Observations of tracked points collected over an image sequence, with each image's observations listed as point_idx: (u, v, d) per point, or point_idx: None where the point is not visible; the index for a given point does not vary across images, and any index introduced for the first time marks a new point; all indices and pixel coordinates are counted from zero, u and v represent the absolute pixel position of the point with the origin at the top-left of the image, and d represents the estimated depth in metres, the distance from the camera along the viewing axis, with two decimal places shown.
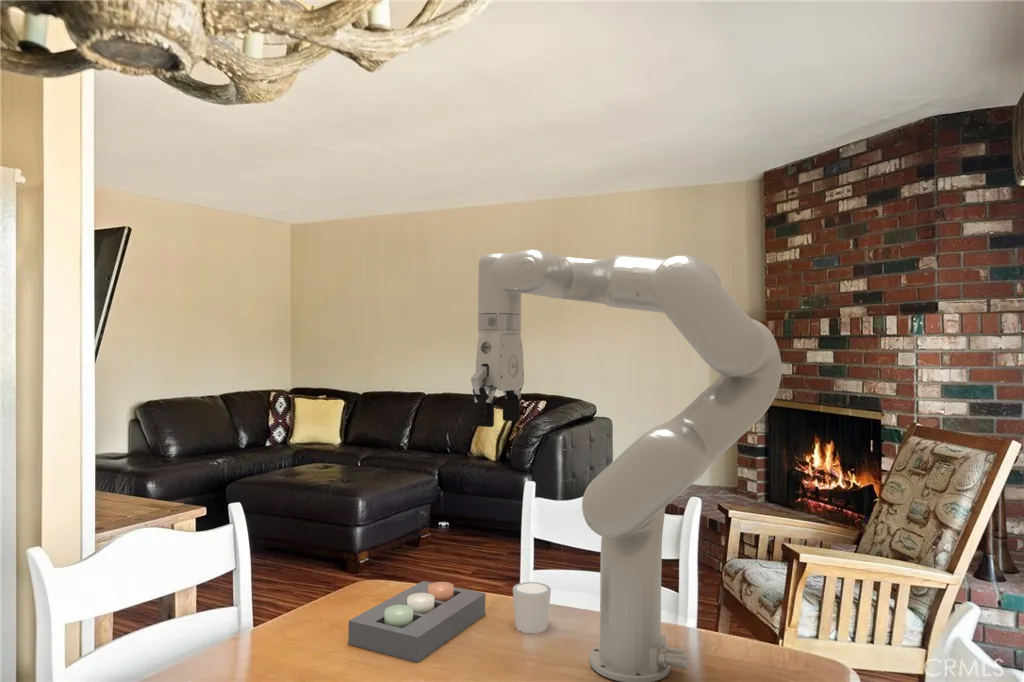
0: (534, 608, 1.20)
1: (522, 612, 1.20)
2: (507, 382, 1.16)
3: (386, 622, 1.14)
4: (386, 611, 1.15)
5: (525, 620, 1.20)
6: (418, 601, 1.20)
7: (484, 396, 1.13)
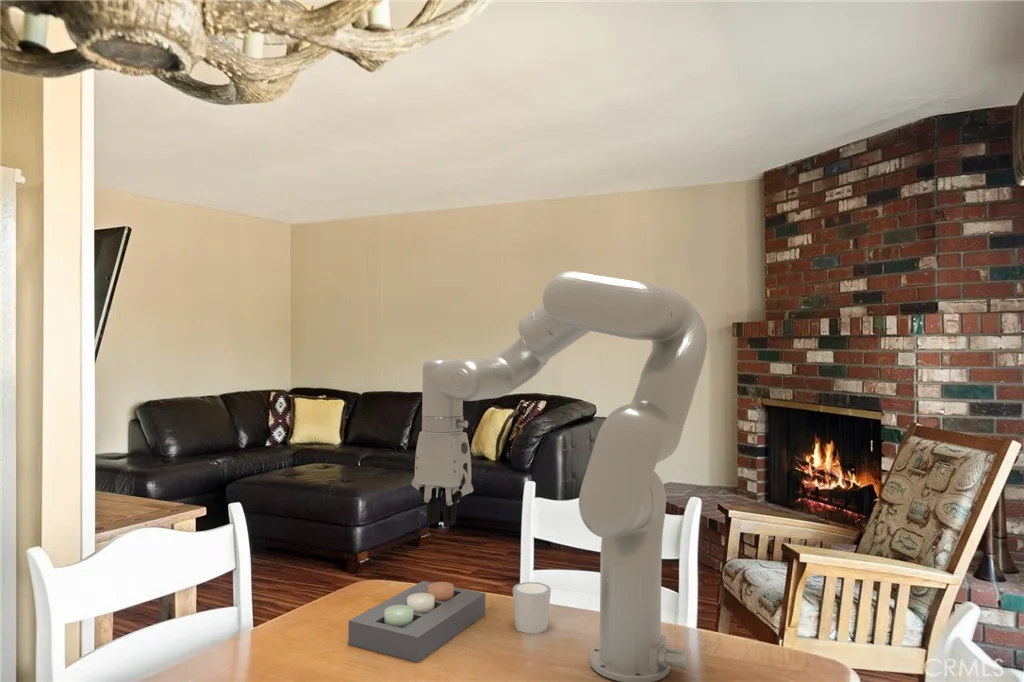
0: (534, 608, 1.20)
1: (522, 612, 1.20)
2: None
3: (386, 622, 1.14)
4: (386, 611, 1.15)
5: (525, 620, 1.20)
6: (418, 601, 1.20)
7: (459, 497, 1.27)
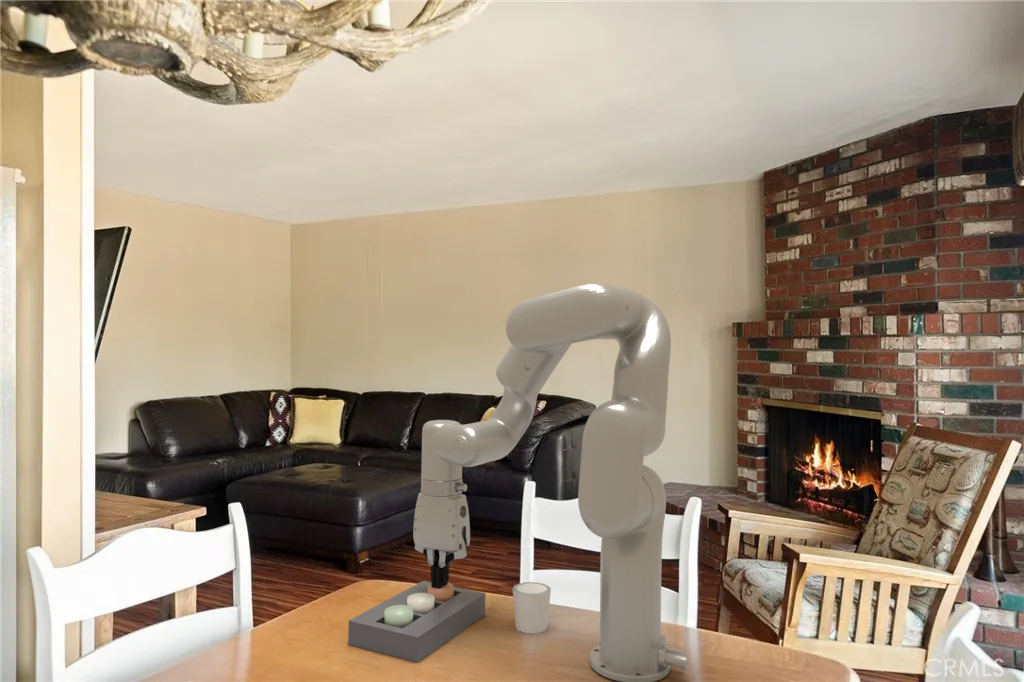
0: (534, 608, 1.20)
1: (522, 612, 1.20)
2: None
3: (386, 622, 1.14)
4: (386, 611, 1.15)
5: (525, 620, 1.20)
6: (418, 601, 1.20)
7: (452, 558, 1.27)
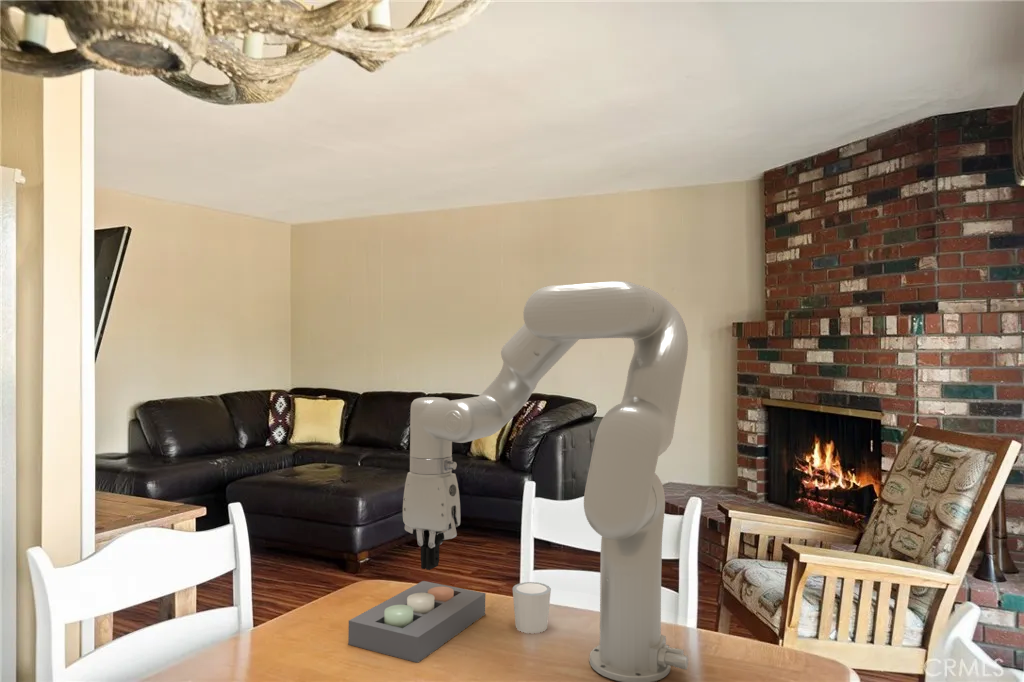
0: (534, 608, 1.20)
1: (522, 612, 1.20)
2: None
3: (386, 622, 1.14)
4: (386, 611, 1.15)
5: (525, 620, 1.20)
6: (418, 601, 1.20)
7: None
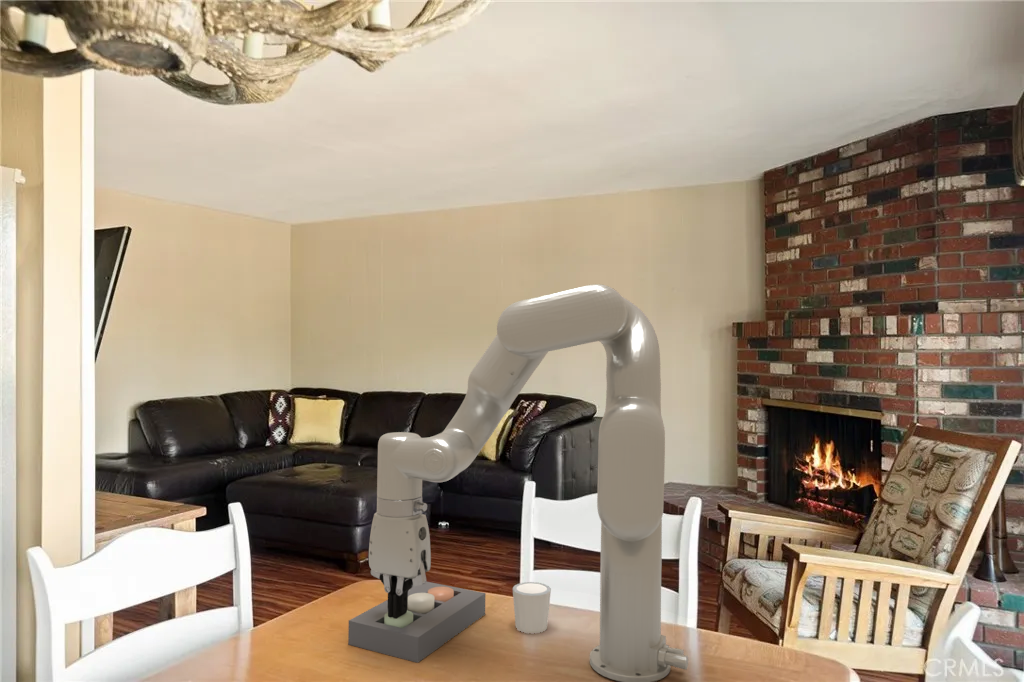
0: (534, 608, 1.20)
1: (522, 612, 1.20)
2: None
3: None
4: (386, 616, 1.15)
5: (525, 620, 1.20)
6: (418, 601, 1.20)
7: None
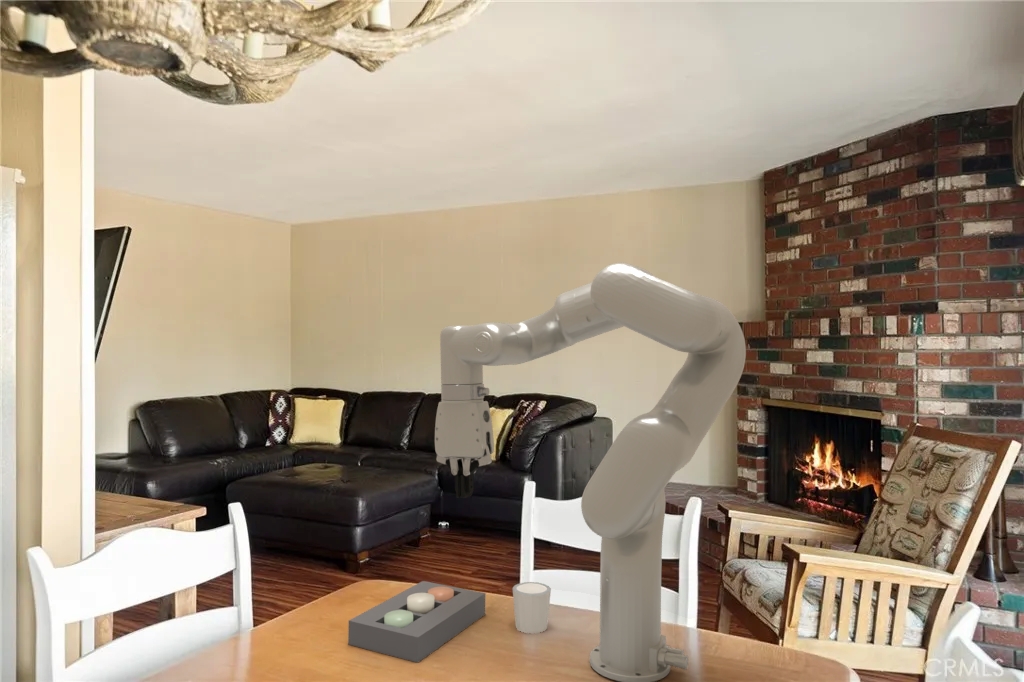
0: (534, 608, 1.20)
1: (522, 612, 1.20)
2: None
3: None
4: (386, 616, 1.15)
5: (525, 620, 1.20)
6: (418, 601, 1.20)
7: None
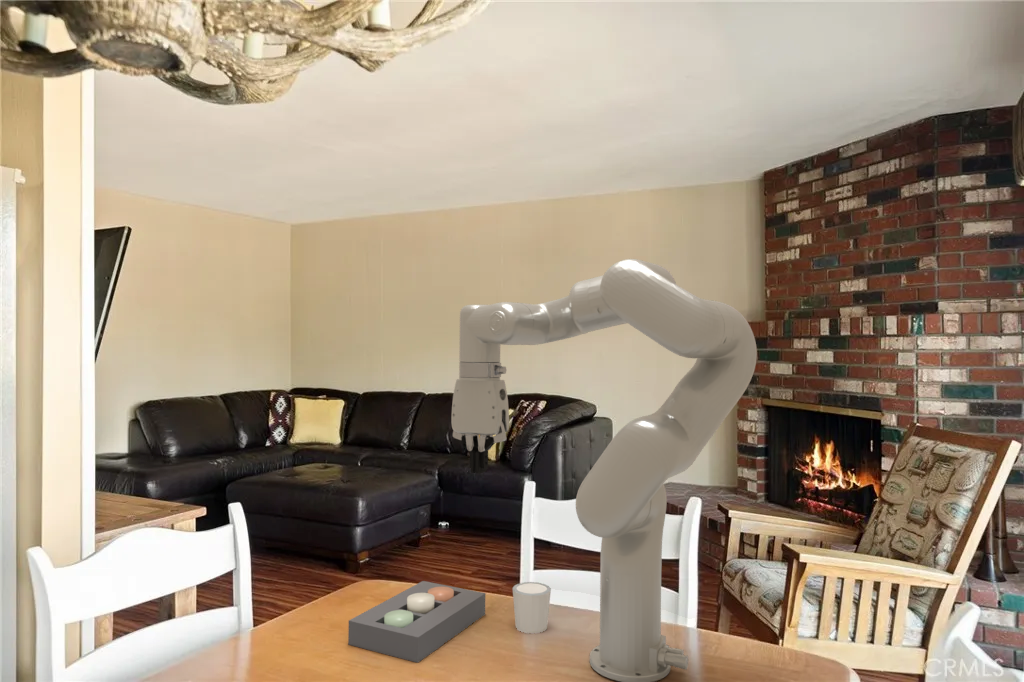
0: (534, 608, 1.20)
1: (522, 612, 1.20)
2: None
3: None
4: (386, 616, 1.15)
5: (525, 620, 1.20)
6: (418, 601, 1.20)
7: None
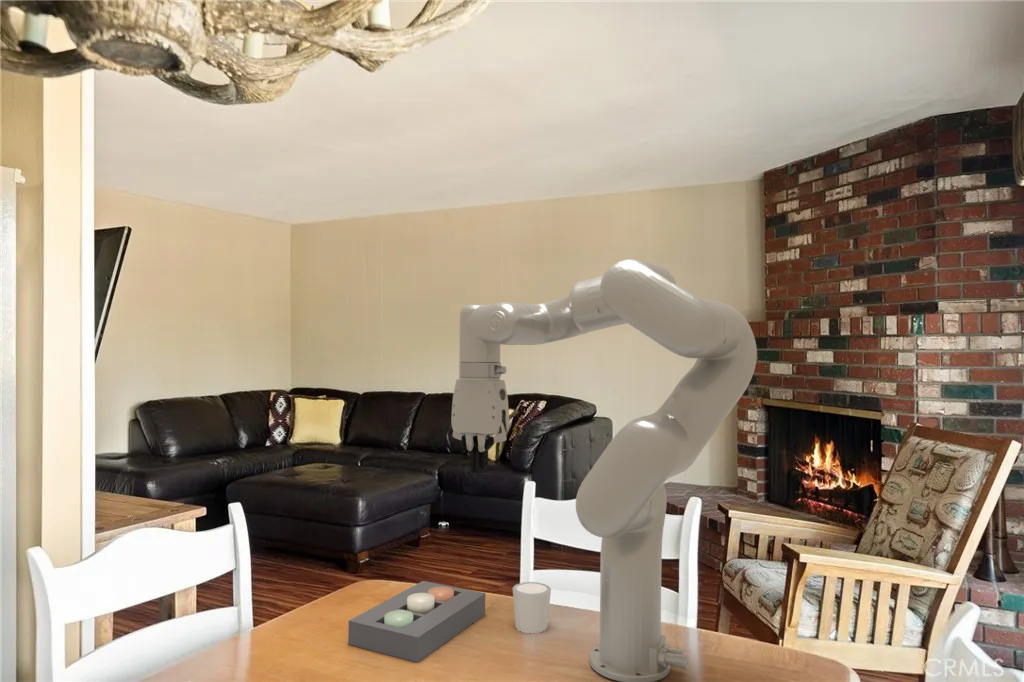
0: (534, 608, 1.20)
1: (522, 612, 1.20)
2: None
3: None
4: (386, 616, 1.15)
5: (525, 620, 1.20)
6: (418, 601, 1.20)
7: None
